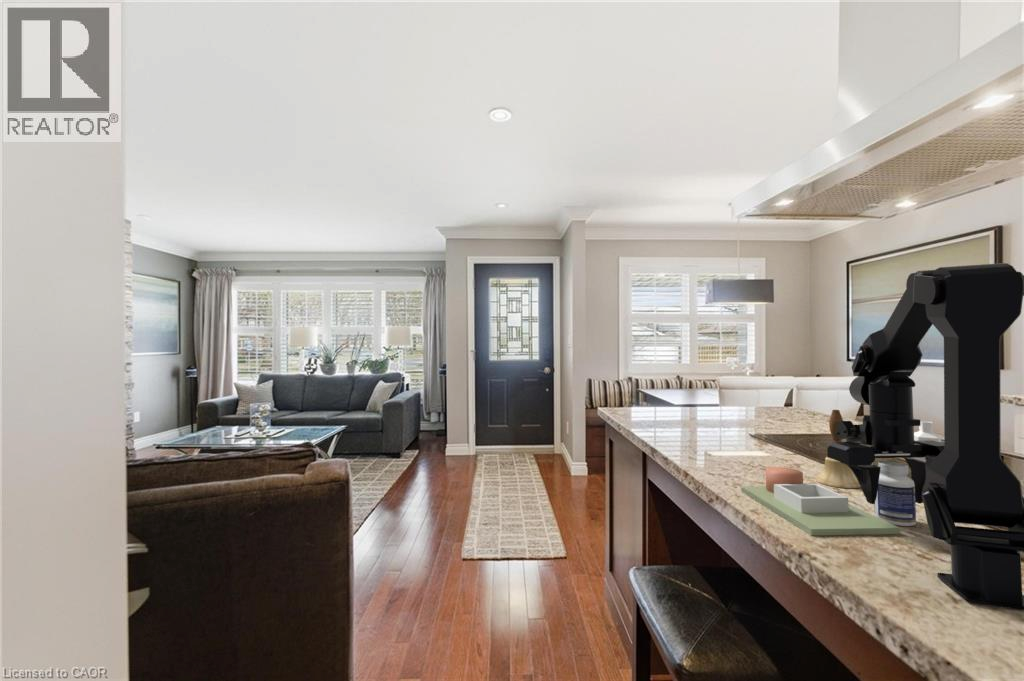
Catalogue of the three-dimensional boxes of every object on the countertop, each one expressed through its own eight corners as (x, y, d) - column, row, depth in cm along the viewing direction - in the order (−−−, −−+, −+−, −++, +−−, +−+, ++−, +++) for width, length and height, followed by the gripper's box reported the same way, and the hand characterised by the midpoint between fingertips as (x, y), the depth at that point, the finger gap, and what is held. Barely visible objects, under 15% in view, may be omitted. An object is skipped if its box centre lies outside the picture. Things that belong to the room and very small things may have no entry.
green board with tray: (900, 534, 70) (898, 502, 70) (811, 535, 70) (810, 503, 70) (808, 490, 92) (807, 466, 92) (741, 491, 92) (740, 467, 92)
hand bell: (807, 477, 101) (805, 407, 101) (844, 477, 100) (842, 407, 101) (832, 489, 93) (829, 413, 93) (873, 488, 92) (870, 412, 93)
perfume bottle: (907, 497, 86) (904, 420, 87) (920, 494, 88) (917, 419, 88) (936, 505, 82) (933, 424, 83) (950, 501, 84) (946, 422, 84)
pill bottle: (924, 528, 72) (922, 468, 72) (887, 526, 73) (884, 467, 73) (902, 515, 77) (900, 460, 78) (867, 514, 79) (865, 459, 79)
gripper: (904, 404, 84) (907, 487, 83) (805, 406, 84) (808, 489, 84) (963, 413, 73) (967, 508, 72) (849, 415, 73) (853, 510, 72)
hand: (894, 502), depth 75 cm, fingers open, 8 cm apart
